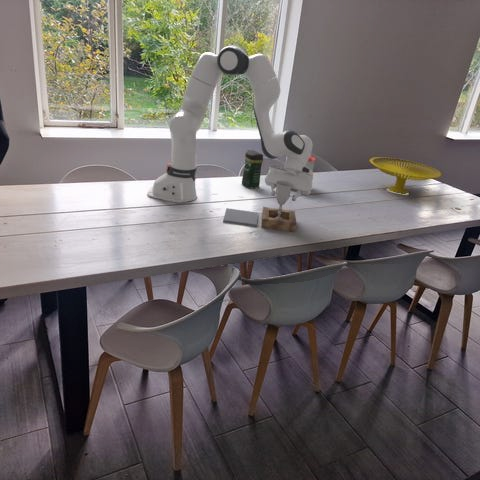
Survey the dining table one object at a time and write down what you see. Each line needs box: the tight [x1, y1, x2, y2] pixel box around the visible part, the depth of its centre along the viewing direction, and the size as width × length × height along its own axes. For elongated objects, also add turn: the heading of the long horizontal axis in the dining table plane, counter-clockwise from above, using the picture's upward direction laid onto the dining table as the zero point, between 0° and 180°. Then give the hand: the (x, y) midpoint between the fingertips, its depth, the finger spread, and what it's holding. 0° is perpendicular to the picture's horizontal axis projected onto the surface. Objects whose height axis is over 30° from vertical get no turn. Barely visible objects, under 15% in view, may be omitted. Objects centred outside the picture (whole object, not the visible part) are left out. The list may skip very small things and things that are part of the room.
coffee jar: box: [241, 149, 264, 189], centre depth 223 cm, size 10×8×19 cm
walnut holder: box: [260, 206, 297, 233], centre depth 183 cm, size 14×14×4 cm
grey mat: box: [222, 207, 259, 228], centre depth 184 cm, size 14×14×1 cm
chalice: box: [275, 181, 293, 219], centre depth 180 cm, size 7×7×18 cm
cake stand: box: [369, 156, 442, 194], centre depth 248 cm, size 40×40×15 cm
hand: (282, 197), depth 180 cm, fingers open, 8 cm apart
